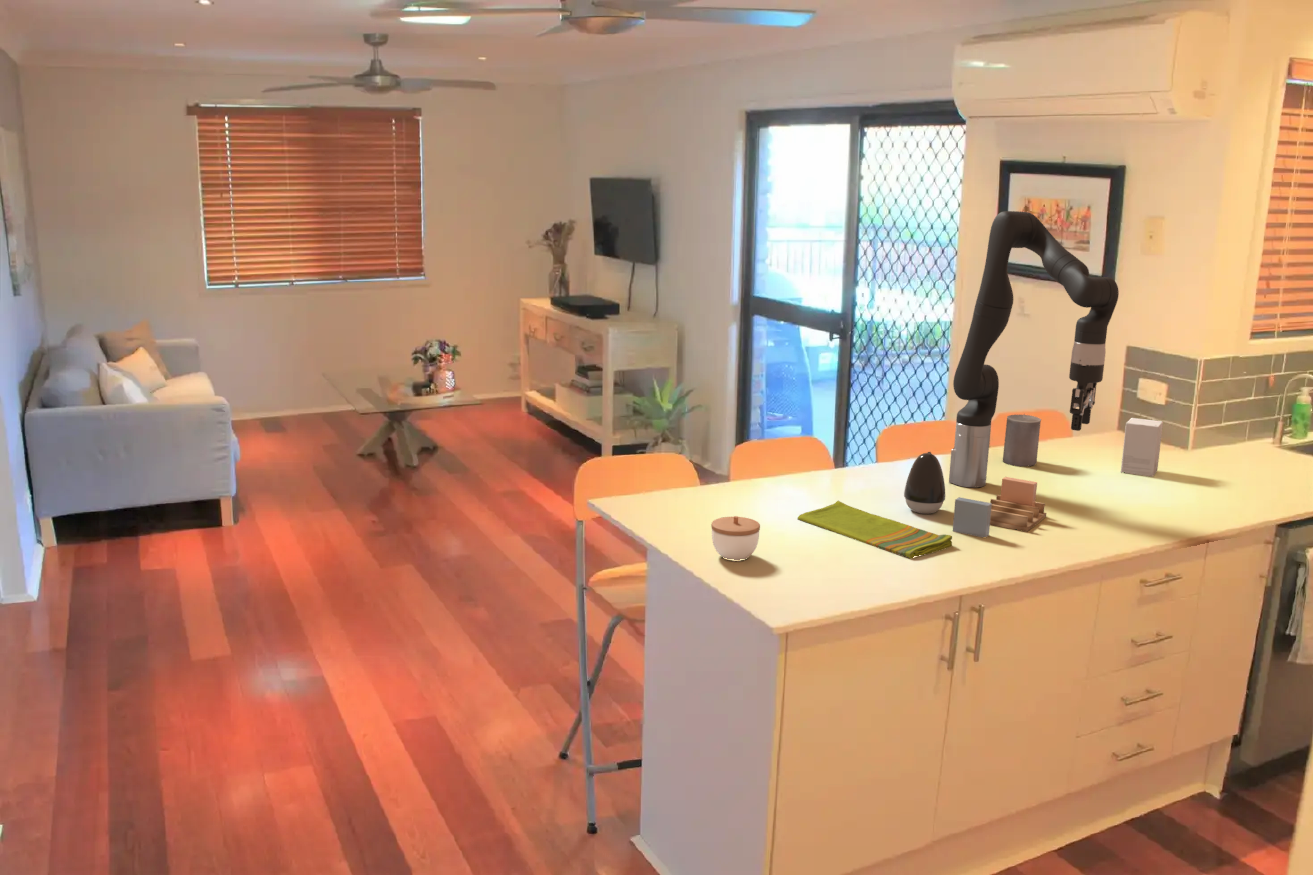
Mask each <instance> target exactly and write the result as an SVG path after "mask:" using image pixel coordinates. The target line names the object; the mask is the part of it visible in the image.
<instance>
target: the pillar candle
mask: <svg viewBox="0 0 1313 875" xmlns="http://www.w3.org/2000/svg"><path fill="white" fill-rule="evenodd" d="M1041 422H1042V419H1041V418H1040V417H1037V416H1034V415H1030V414H1025V413H1023V414H1011V415H1007V417H1006V425H1005V426H1006V427H1005V436H1004V444H1003V457H1002V462H1003V463H1005V464H1006V463H1007V465H1009V464H1010V466H1014V465H1015V467H1022V466H1025V467H1026V466H1028V467H1032V466H1036V465H1035V464H1037V463H1038V462H1037V461H1038V451H1039V440H1040V433H1041V432H1040V430H1041Z"/></svg>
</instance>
